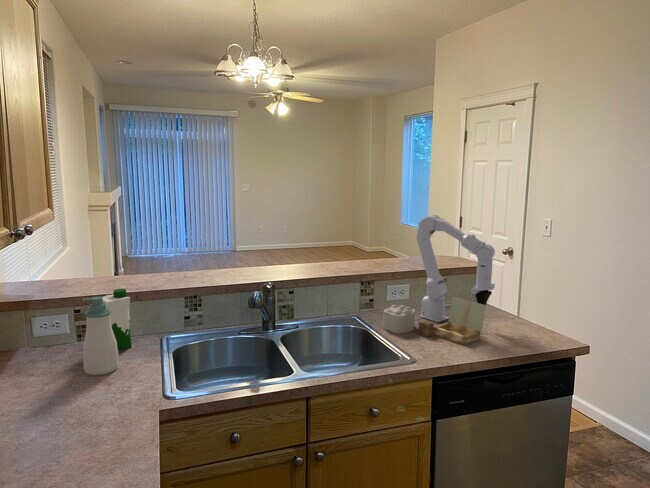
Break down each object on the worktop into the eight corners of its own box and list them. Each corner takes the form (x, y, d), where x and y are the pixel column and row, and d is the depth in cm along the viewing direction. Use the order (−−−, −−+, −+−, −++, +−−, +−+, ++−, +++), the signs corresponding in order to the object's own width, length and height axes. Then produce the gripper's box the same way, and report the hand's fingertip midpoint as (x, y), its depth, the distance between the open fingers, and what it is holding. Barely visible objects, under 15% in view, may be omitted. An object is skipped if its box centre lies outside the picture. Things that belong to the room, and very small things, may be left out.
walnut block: (418, 334, 178) (418, 321, 177) (424, 331, 180) (425, 319, 179) (426, 337, 175) (427, 324, 174) (433, 334, 177) (433, 322, 177)
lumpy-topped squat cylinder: (379, 327, 185) (380, 306, 183) (401, 321, 192) (402, 301, 191) (398, 334, 176) (399, 313, 175) (420, 328, 184) (421, 307, 183)
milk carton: (135, 347, 159) (132, 291, 156) (108, 354, 152) (104, 296, 149) (124, 340, 165) (121, 286, 162) (98, 347, 158) (94, 291, 155)
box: (433, 334, 177) (433, 327, 177) (448, 328, 184) (448, 321, 183) (465, 345, 167) (465, 337, 166) (479, 339, 173) (480, 331, 173)
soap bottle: (86, 365, 145) (81, 295, 141) (120, 361, 148) (116, 292, 144) (81, 378, 136) (76, 304, 132) (118, 373, 139) (113, 301, 135)
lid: (452, 296, 183) (453, 296, 183) (448, 321, 183) (449, 321, 184) (484, 305, 172) (485, 305, 173) (480, 331, 173) (481, 331, 174)
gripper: (483, 280, 175) (481, 314, 177) (502, 274, 185) (499, 307, 187) (467, 276, 180) (464, 309, 183) (486, 271, 190) (484, 303, 192)
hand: (481, 308), depth 185 cm, fingers closed
